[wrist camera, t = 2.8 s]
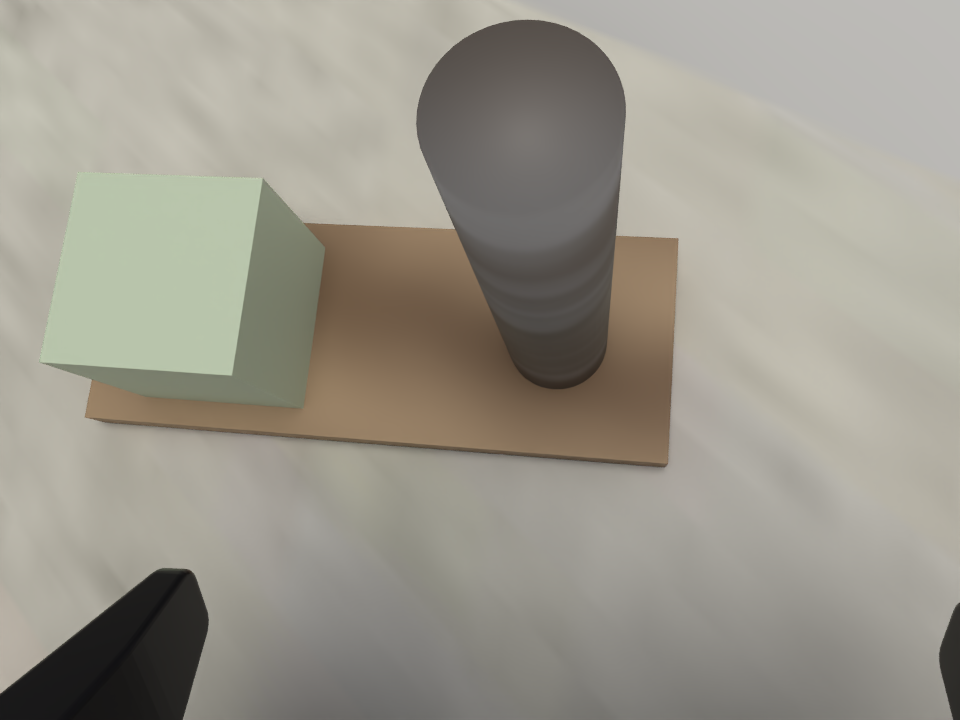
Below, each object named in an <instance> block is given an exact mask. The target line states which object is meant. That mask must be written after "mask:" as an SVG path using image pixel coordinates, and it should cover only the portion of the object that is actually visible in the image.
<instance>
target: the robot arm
mask: <svg viewBox="0 0 960 720" xmlns="http://www.w3.org/2000/svg"><path fill="white" fill-rule="evenodd" d="M208 623H209V619H208V612H207V609H206V606H205V603H204V600H203V597H202V594H201V591H200V588H199V585H198V582H197V579H196V577H195V575H194V573H193V572H192V571H190V570H188V569H172V568H162V569H159V570H156V571H155V572H153V573H152V574H150V575H149V576H148V577H147V578H145V579H144V580H143V581H142V582H140V583H139V584H138V585H137V586H135V587H134V588H133V589H132V590H130V591H129V592H128V593H127V594H125V595H124V596H123V597H121V598H120V599H119V600H118V601H116V602H115V603H114V604H113V605H111V606H110V607H109V608H108V609H106V610H105V611H104V612H103V613H101V614H100V615H99V616H98V617H96V618H95V619H94V620H93V621H91V622H90V623H89V624H87V625H86V626H85V627H84V628H82V629H81V630H80V631H79V632H77V633H76V634H75V635H74V636H72V637H71V638H70V639H69V640H67V641H66V642H65V643H64V644H62V645H61V646H60V647H59V648H57V649H56V650H55V651H53V652H52V653H51V654H50V655H48V656H47V657H46V658H45V659H43V660H42V661H41V662H40V663H38V664H37V665H36V666H35V667H33V668H32V669H31V670H30V671H28V672H27V673H26V674H25V675H23V676H22V677H21V678H19V679H18V680H17V681H16V682H14V683H13V684H12V685H11V686H9V687H8V688H7V689H6V690H4V691H3V692H2V693H1V694H0V720H183V717H184V713H185V710H186V706H187V703H188V699H189V696H190V692H191V688H192V685H193V681H194V678H195V674H196V671H197V667H198V664H199V660H200V657H201V653H202V649H203V646H204V642H205V639H206V635H207V631H208ZM939 662H940V669H941V673H942V677H943V681H944V685H945V689H946V693H947V697H948V701H949V705H950V709H951V713H952V717H953V720H960V603H958V604H957V605H956V607H955V609H954V611H953V613H952V616H951V619H950V622H949V624H948V627H947V630H946V633H945V635H944V638H943V641H942V644H941V647H940V653H939Z"/></svg>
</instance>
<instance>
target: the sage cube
mask: <svg viewBox="0 0 960 720" xmlns="http://www.w3.org/2000/svg"><path fill="white" fill-rule="evenodd" d="M324 254H325V247H324V246H323V244H322V243H321V242H320V241H319V240H318V239H317V238H316V237H315V236H314V234H313V233H312V232H311V231H310V230H309V229H308V228H307V227H306V226H305V224H304V223H303V222H302V221H301V220H300V219H299V218H298V217H297V216H296V214H295V213H294V212H293V211H292V210H291V209H290V208H289V207H288V206H287V204H286V203H285V202H284V201H283V200H282V199H281V198H280V197H279V196H278V195H277V193H276V192H275V191H274V190H273V189H272V188H271V187H270V186H269V185H268V183H267V182H266V181H265V180H264V179H263V178H243V177H212V176H182V175H151V174H120V173H90V172H78V174H77V179H76V184H75V189H74V194H73V198H72V203H71V208H70V213H69V218H68V223H67V228H66V233H65V237H64V242H63V247H62V252H61V257H60V262H59V267H58V272H57V276H56V281H55V286H54V291H53V296H52V301H51V306H50V311H49V315H48V320H47V325H46V330H45V335H44V340H43V345H42V350H41V355H40V359H39V362H40V363H43V364H46V365H49V366H52V367H55V368H58V369H62V370H65V371H68V372H71V373H74V374H77V375H80V376H83V377H86V378H89V379H92V380H95V381H98V382H101V383H105V384H108V385H111V386H114V387H117V388H120V389H123V390H126V391H129V392H132V393H135V394H138V395H141V396H144V397H154V398H167V399H181V400H194V401H207V402H221V403H234V404H247V405H261V406H274V407H287V408H301V409H303V407H304V400H305V393H306V385H307V378H308V371H309V364H310V356H311V349H312V342H313V334H314V327H315V320H316V313H317V305H318V298H319V291H320V283H321V276H322V269H323V262H324Z"/></svg>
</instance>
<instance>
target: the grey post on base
mask: <svg viewBox="0 0 960 720" xmlns="http://www.w3.org/2000/svg"><path fill="white" fill-rule="evenodd" d="M625 118H626V103H625V96H624V90H623V87H622V84H621V80H620V78H619V76H618V74H617V71H616V69H615V67H614V66H613V64H612V63H611V61H610V60H609V58H608V57H607V56H606V55H605V53H604V52H603V51H602V50H601V49H600V48H599V47H598V46H597V45H596V44H594V43H593V42H592V41H591V40H590V39H588V38H586V37H585V36H583V35H582V34H580V33H579V32H576V31H574V30H572V29H570V28H568V27H565V26H562V25H559V24H556V23H551V22H546V21H539V20H515V21H509V22H503V23H499V24H496V25H492V26H489V27H486V28H484V29H482V30H479V31H477V32H475V33H473V34H471V35H470V36H468V37H466V38H464V39H463V40H462V41H460V42H459V43H457V44H456V45H455V46H453V47H452V48H451V49H450V50H449V51H448V52H447V53H446V54H445V55H444V56H443V57H442V58H441V59H440V61H439V62H438V63H437V64H436V66H435V67H434V69H433V70H432V72H431V73H430V75H429V76H428V78H427V81H426V83H425V85H424V87H423V89H422V93H421V96H420V99H419V103H418V109H417V122H416V125H417V135H418V140H419V144H420V148H421V151H422V153H423V156H424V158H425V160H426V163H427V165H428V167H429V170H430V172H431V174H432V177H433V179H434V181H435V184H436V186H437V188H438V190H439V193H440V195H441V197H442V200H443V202H444V204H445V207H446V209H447V211H448V214H449V216H450V218H451V220H452V223H453V225H454V227H455V229H433V228H409V227H384V226H360V225H335V224H311V223H304V224H305V226H306V227H307V228H308V229H309V230H310V231H311V232H312V233H313V234H314V236H315V237H316V238H317V239H318V240H319V241H320V242H321V243H322V244H323V246H324V247H325V254H324V262H323V269H322V276H321V283H320V291H319V298H318V305H317V313H316V320H315V327H314V334H313V342H312V349H311V356H310V364H309V371H308V378H307V385H306V393H305V400H304V407H303V409H301V408H287V407H274V406H261V405H247V404H234V403H221V402H207V401H194V400H181V399H167V398H154V397H144V396H141V395H138V394H135V393H132V392H129V391H126V390H123V389H120V388H117V387H114V386H111V385H108V384H105V383H101V382H98V381H95V380H92V382H91V388H90V393H89V398H88V403H87V409H86V414H85V417H86V418H90V419H94V420H98V421H102V422H109V423H121V424H133V425H146V426H158V427H171V428H183V429H195V430H208V431H220V432H233V433H245V434H258V435H270V436H282V437H295V438H307V439H320V440H332V441H345V442H357V443H369V444H382V445H394V446H407V447H419V448H432V449H444V450H456V451H469V452H481V453H494V454H506V455H519V456H531V457H543V458H556V459H568V460H581V461H593V462H606V463H618V464H630V465H643V466H655V467H665V466H666V465H667V464H668V450H669V429H670V407H671V385H672V364H673V342H674V321H675V299H676V278H677V256H678V238H654V237H630V236H616V228H617V215H618V203H619V191H620V179H621V167H622V154H623V142H624V130H625Z"/></svg>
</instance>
